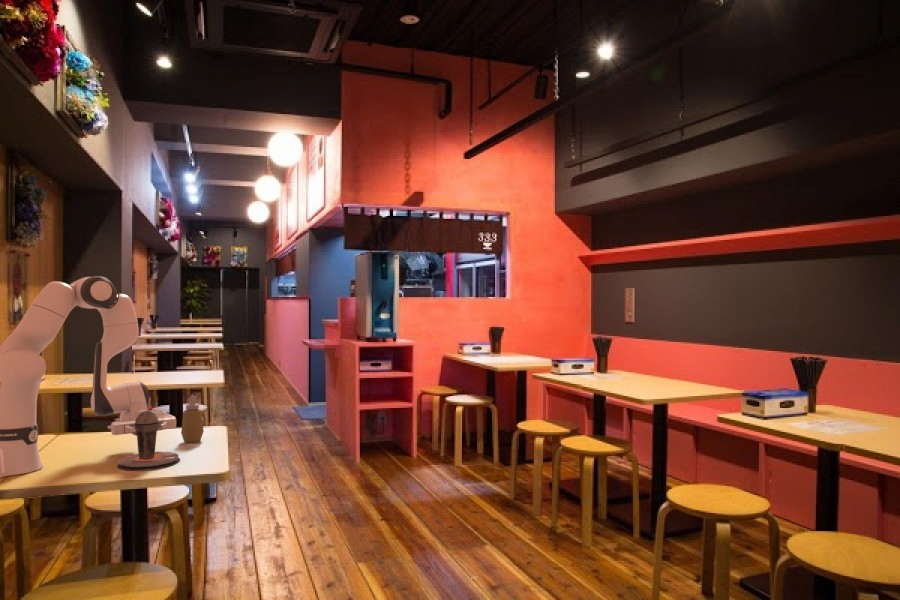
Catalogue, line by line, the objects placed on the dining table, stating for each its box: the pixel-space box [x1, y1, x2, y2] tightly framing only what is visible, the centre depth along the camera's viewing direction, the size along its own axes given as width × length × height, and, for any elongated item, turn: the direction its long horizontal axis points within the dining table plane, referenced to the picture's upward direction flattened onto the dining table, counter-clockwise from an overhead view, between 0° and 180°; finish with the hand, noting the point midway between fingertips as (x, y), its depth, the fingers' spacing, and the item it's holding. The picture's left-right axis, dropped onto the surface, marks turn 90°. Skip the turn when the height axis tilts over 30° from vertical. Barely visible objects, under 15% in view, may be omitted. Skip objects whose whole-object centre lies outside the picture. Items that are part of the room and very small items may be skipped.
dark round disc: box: [118, 451, 179, 469], centre depth 211 cm, size 18×18×1 cm
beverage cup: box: [135, 397, 159, 459], centre depth 211 cm, size 7×7×20 cm
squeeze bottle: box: [180, 394, 205, 444], centre depth 244 cm, size 8×8×18 cm
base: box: [116, 457, 181, 472], centre depth 211 cm, size 19×19×1 cm
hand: (148, 428), depth 211 cm, fingers open, 8 cm apart
